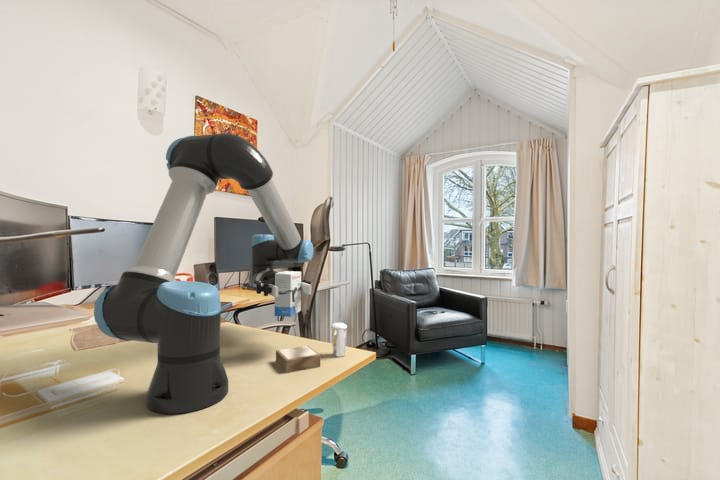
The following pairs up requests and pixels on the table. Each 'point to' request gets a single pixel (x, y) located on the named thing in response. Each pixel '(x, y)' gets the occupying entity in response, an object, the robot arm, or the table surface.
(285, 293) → the ink box
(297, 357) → the plinth
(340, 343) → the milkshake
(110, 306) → the robot arm
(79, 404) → the table surface
